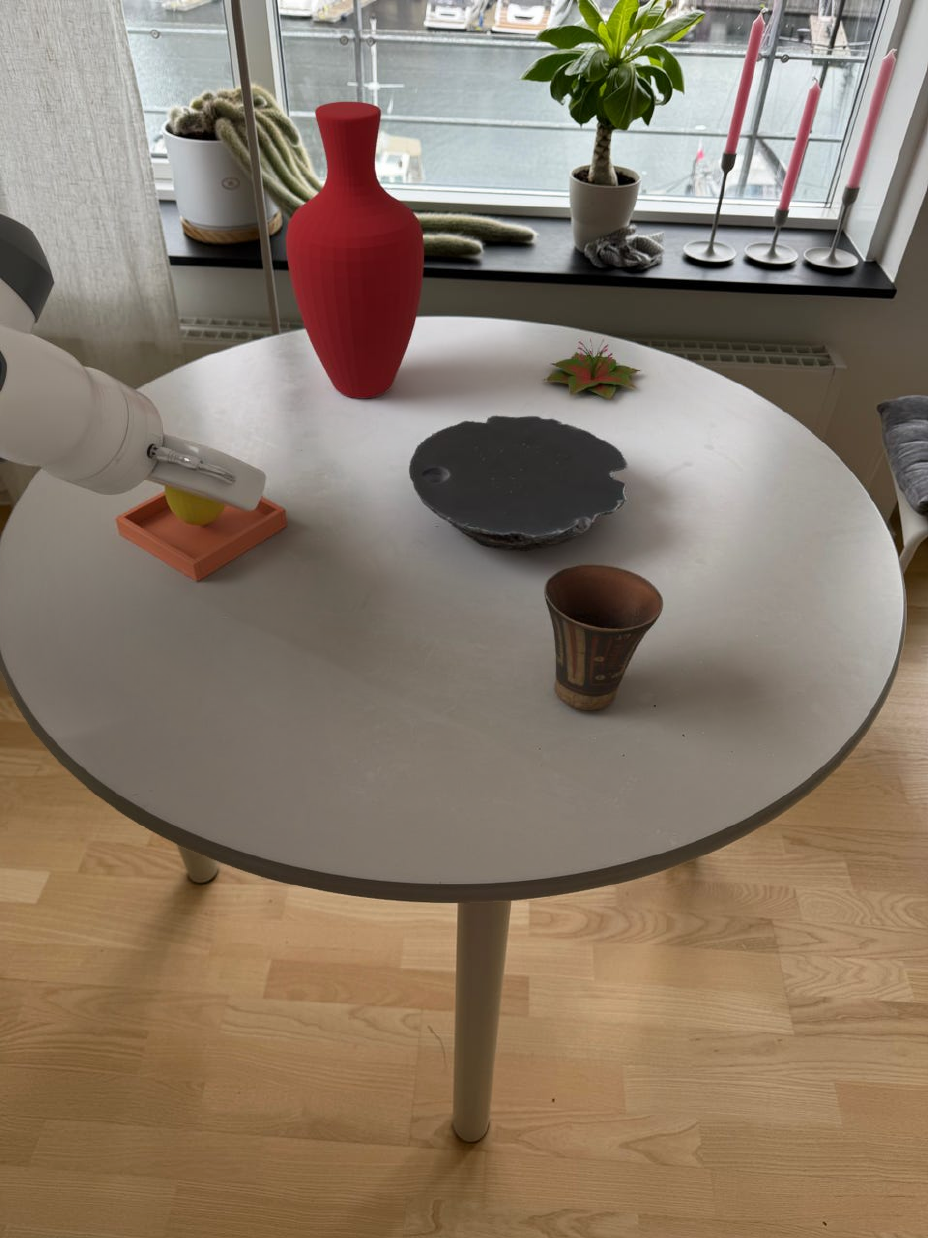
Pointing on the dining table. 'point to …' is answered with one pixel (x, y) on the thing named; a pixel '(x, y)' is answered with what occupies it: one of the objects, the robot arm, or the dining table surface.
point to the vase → (355, 259)
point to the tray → (199, 534)
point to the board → (518, 480)
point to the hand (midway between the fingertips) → (199, 479)
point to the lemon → (193, 507)
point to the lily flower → (592, 373)
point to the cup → (597, 629)
